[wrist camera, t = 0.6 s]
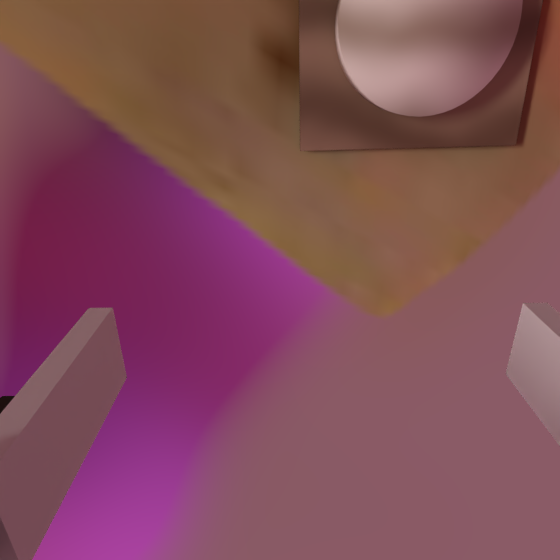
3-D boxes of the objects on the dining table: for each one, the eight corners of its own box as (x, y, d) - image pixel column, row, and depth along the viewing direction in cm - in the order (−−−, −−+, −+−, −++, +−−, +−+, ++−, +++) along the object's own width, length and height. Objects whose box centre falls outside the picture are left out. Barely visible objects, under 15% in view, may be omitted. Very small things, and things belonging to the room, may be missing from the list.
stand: (298, -119, 29) (299, -144, 26) (559, -128, 28) (593, -155, 25) (300, 149, 36) (301, 155, 32) (509, 143, 35) (532, 149, 32)
